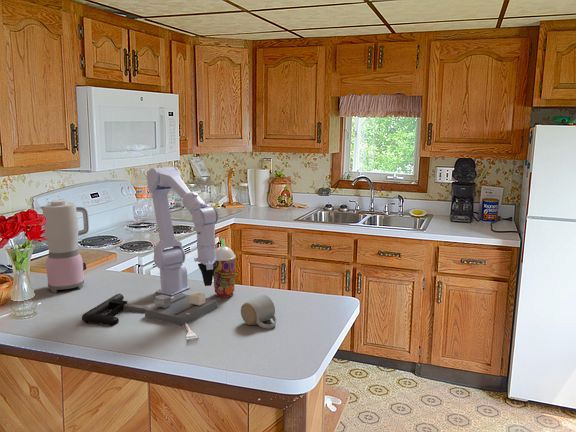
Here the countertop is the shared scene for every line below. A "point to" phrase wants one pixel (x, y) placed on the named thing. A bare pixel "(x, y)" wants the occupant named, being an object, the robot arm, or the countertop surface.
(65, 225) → the blender
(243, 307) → the ceramic mug
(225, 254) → the smoothie
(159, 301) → the steel fader
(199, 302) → the block
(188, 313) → the gray slider board
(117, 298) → the gun
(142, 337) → the countertop surface
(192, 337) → the fork
